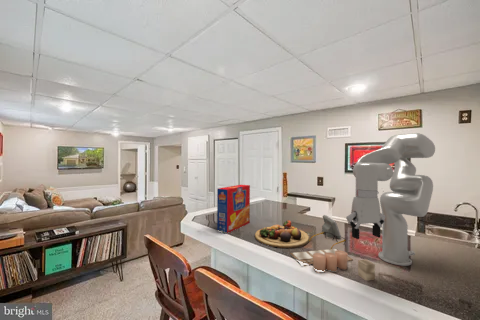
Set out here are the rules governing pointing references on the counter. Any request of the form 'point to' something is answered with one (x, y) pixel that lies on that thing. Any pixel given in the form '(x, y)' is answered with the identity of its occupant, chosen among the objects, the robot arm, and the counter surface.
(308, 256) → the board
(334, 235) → the eyeglasses
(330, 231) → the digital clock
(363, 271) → the beige block
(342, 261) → the tan short cylinder
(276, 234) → the wooden plate with food
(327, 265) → the tan short cylinder
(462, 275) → the counter surface
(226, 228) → the pasta box
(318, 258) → the tan short cylinder
